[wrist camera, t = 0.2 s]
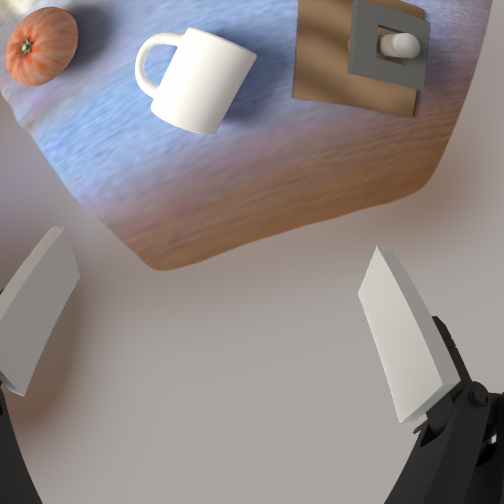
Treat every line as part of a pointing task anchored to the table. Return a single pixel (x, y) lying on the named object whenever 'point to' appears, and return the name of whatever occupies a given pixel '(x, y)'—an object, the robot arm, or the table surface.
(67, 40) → the pumpkin
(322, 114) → the table surface
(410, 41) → the peg stacking board
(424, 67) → the ring
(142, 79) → the mug
